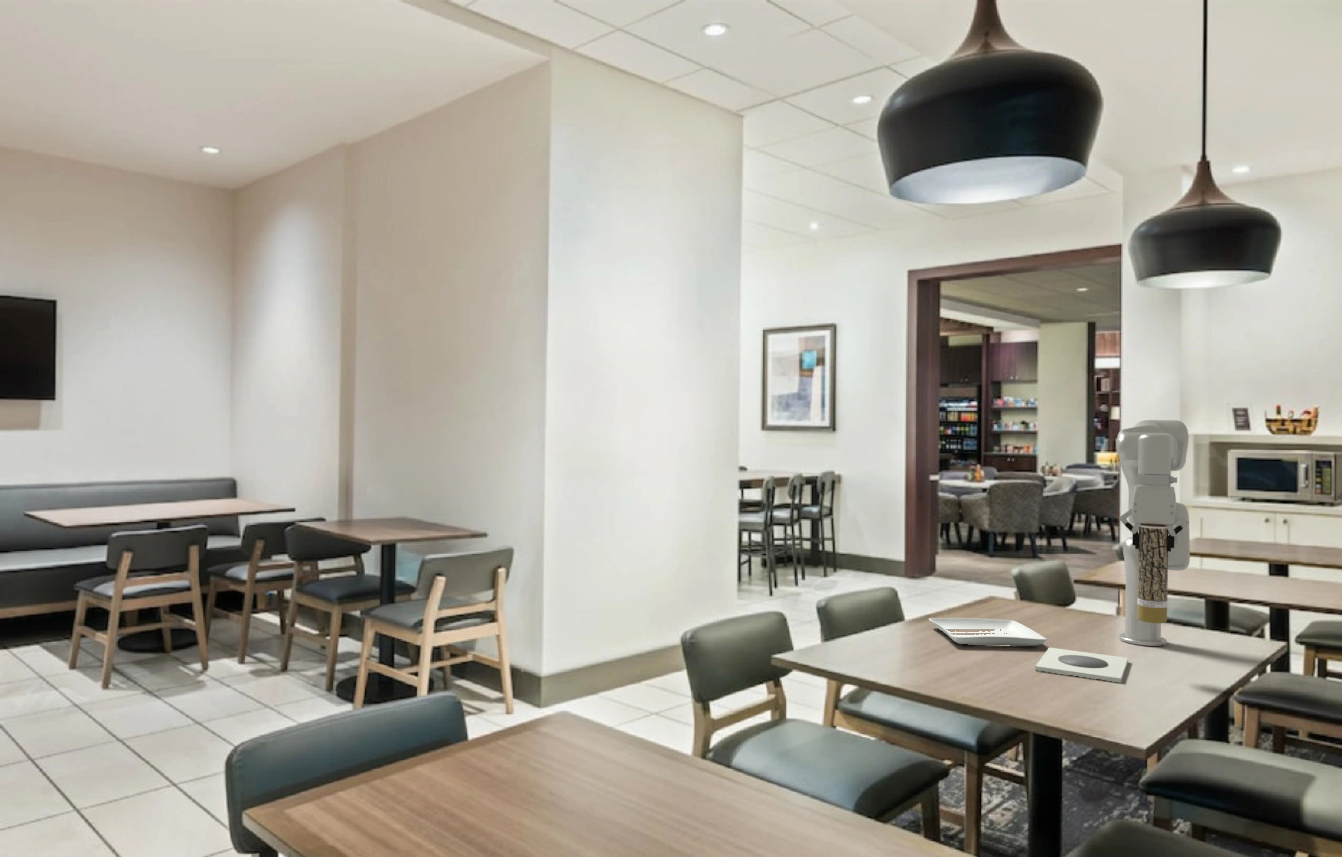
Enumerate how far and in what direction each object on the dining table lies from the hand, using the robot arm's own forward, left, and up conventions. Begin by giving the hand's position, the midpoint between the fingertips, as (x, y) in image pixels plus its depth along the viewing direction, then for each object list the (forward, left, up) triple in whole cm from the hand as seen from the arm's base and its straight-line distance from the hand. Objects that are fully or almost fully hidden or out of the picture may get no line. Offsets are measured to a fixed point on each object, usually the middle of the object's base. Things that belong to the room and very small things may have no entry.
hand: (1153, 549), depth 229 cm
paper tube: (0, 0, -19) cm, 19 cm away
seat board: (+2, -16, -33) cm, 36 cm away
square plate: (-17, -45, -33) cm, 58 cm away
